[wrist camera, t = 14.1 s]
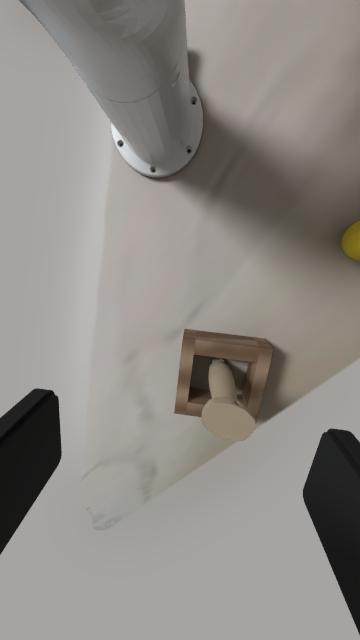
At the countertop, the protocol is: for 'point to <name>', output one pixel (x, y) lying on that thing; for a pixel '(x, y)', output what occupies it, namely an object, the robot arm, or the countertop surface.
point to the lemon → (352, 241)
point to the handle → (226, 406)
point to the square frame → (228, 348)
